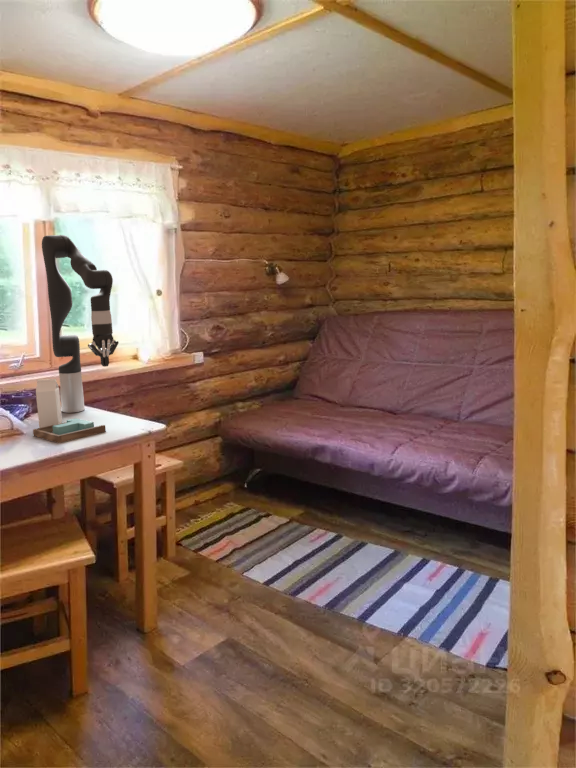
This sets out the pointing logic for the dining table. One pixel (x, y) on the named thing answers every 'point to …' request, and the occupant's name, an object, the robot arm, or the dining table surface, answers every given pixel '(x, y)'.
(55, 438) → the bay
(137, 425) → the dining table surface
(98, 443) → the dining table surface
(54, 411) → the milk carton
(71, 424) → the T-block
